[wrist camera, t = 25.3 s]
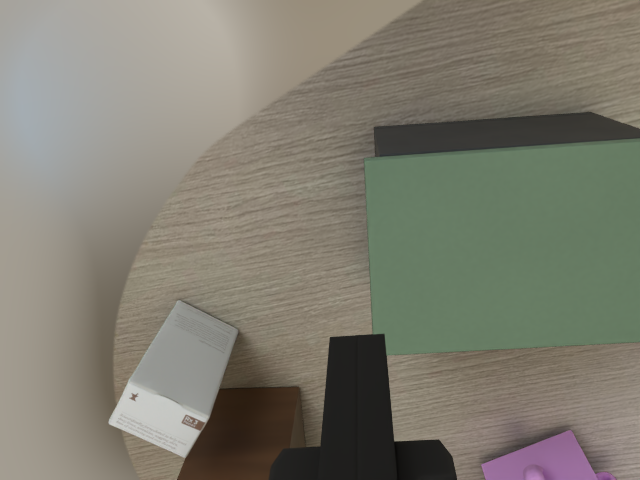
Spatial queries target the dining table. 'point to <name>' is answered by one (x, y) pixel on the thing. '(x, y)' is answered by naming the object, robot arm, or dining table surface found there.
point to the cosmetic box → (177, 380)
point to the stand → (246, 434)
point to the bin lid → (505, 247)
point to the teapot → (545, 462)
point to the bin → (498, 133)
